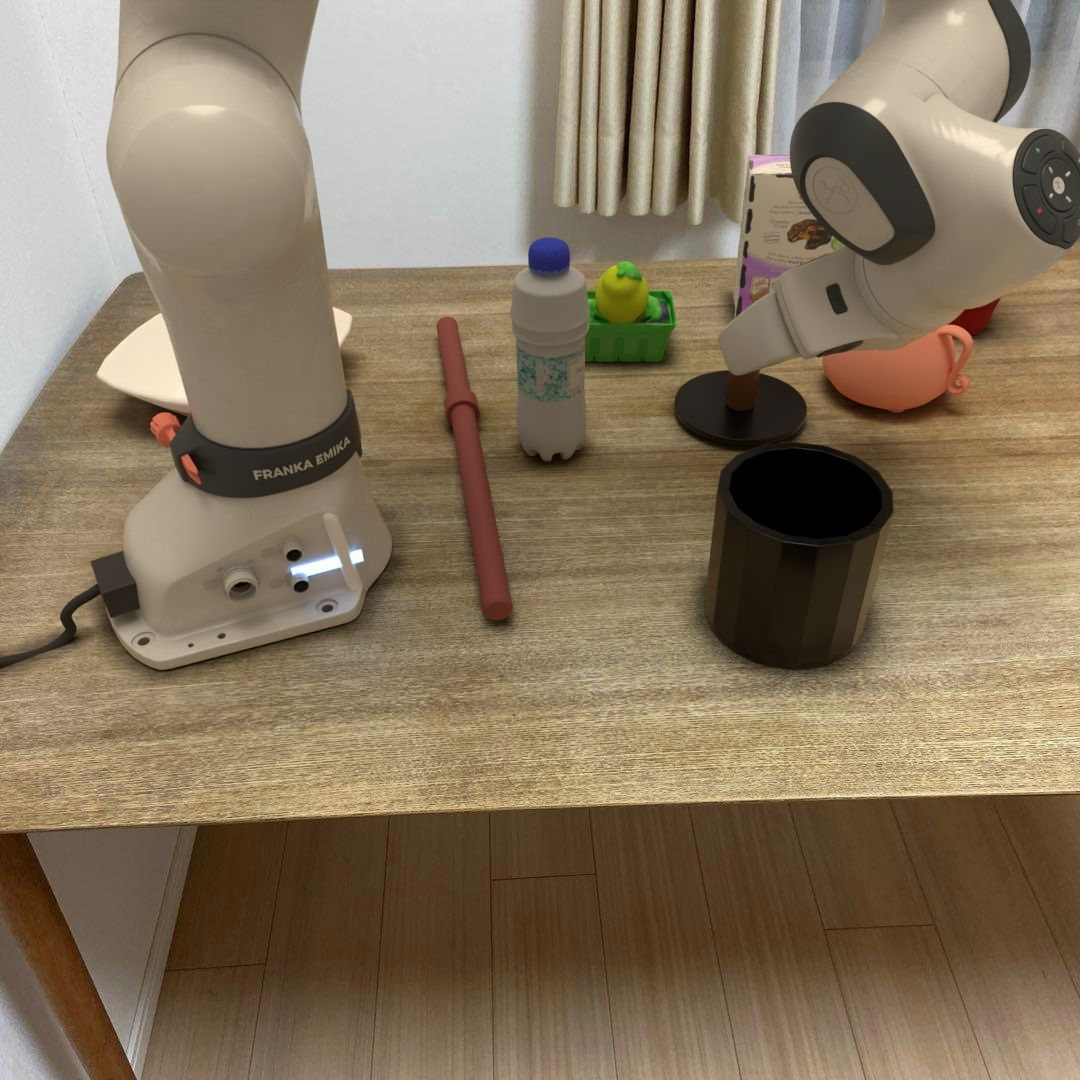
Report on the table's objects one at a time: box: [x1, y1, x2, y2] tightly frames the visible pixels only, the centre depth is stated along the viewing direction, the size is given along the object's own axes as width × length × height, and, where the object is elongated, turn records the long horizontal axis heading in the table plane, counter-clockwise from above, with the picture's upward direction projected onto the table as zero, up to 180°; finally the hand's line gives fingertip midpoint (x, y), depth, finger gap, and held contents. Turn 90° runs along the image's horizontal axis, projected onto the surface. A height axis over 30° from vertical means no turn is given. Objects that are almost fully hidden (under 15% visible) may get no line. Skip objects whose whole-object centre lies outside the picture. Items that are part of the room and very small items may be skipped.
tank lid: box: [673, 369, 808, 446], centre depth 95 cm, size 12×12×9 cm
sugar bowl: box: [821, 325, 974, 413], centre depth 97 cm, size 12×14×10 cm
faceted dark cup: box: [703, 441, 895, 670], centre depth 73 cm, size 12×12×12 cm
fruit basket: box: [585, 260, 678, 363], centre depth 103 cm, size 11×9×11 cm
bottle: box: [509, 236, 590, 462], centre depth 87 cm, size 7×7×20 cm
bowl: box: [96, 306, 353, 417], centre depth 101 cm, size 22×22×5 cm
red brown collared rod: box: [436, 316, 514, 621], centre depth 92 cm, size 45×3×3 cm, turn 9°
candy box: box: [732, 154, 843, 319], centre depth 108 cm, size 14×6×16 cm, turn 84°
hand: (789, 347), depth 88 cm, fingers open, 8 cm apart
